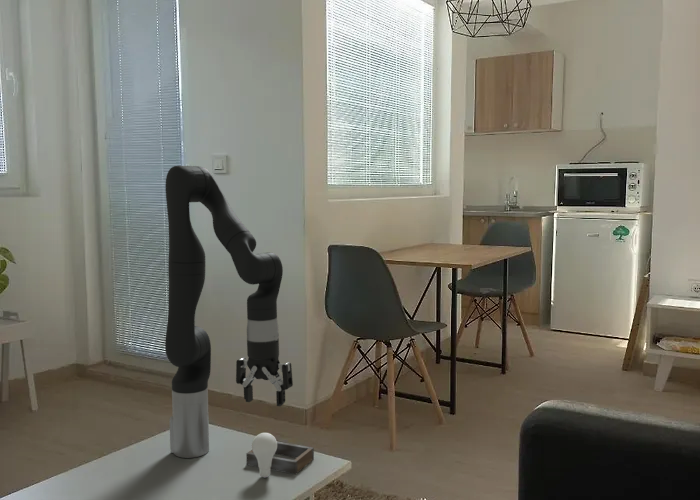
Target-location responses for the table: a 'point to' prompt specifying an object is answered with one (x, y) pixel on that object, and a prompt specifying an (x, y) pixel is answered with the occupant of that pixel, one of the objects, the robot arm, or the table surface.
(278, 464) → the brown wooden shallow box
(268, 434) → the lightbulb
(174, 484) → the table surface
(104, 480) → the table surface
